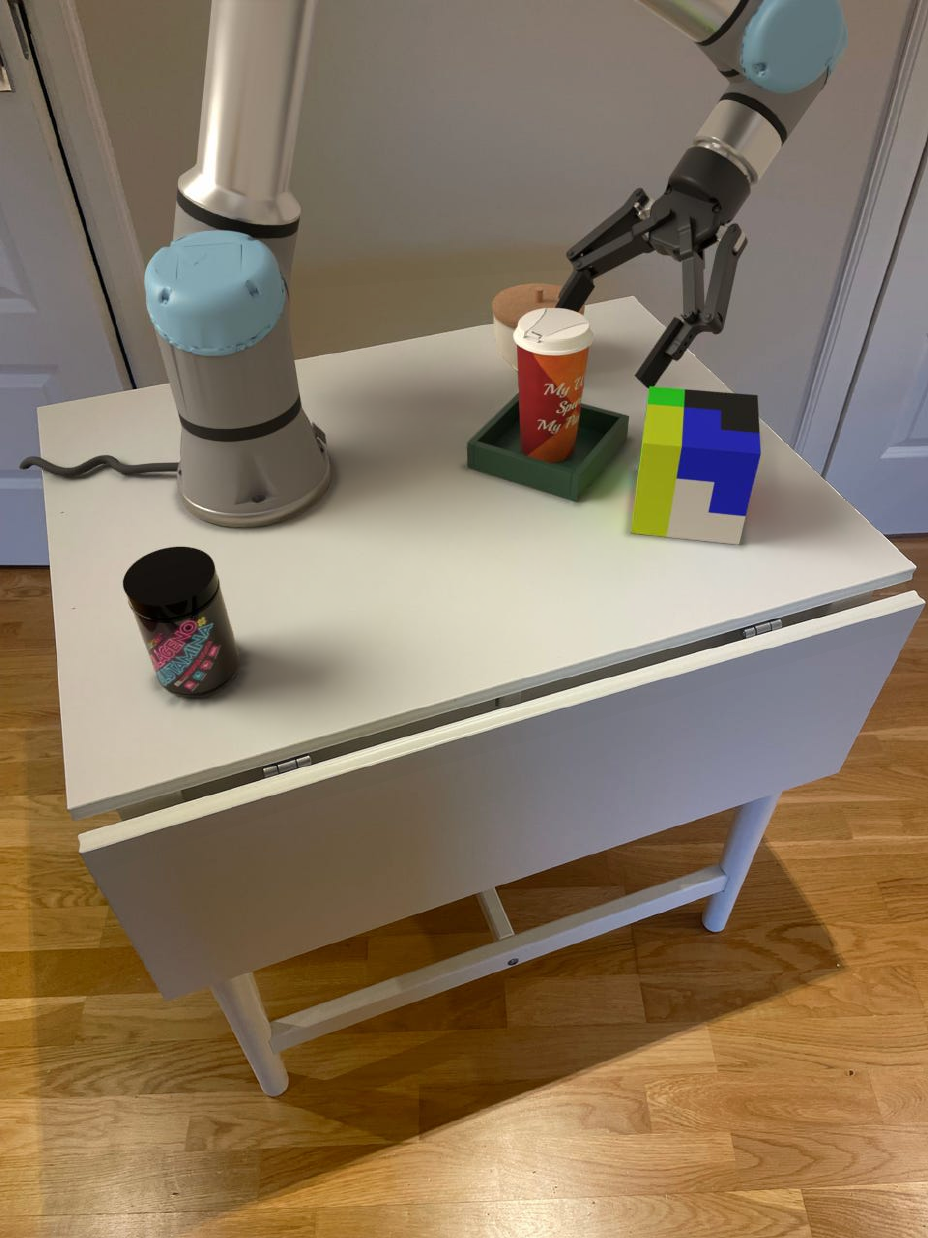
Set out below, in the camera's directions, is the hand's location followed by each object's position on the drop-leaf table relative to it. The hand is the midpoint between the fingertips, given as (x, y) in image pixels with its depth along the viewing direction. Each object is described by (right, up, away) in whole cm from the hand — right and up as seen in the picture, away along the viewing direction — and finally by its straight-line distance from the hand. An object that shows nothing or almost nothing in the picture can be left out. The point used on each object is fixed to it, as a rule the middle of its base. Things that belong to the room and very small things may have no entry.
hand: (594, 357), depth 92 cm
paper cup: (-4, -9, +4) cm, 10 cm away
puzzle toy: (+8, -16, -3) cm, 18 cm away
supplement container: (-35, -31, -18) cm, 50 cm away
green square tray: (-4, -9, +4) cm, 11 cm away
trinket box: (-4, +4, +18) cm, 19 cm away
